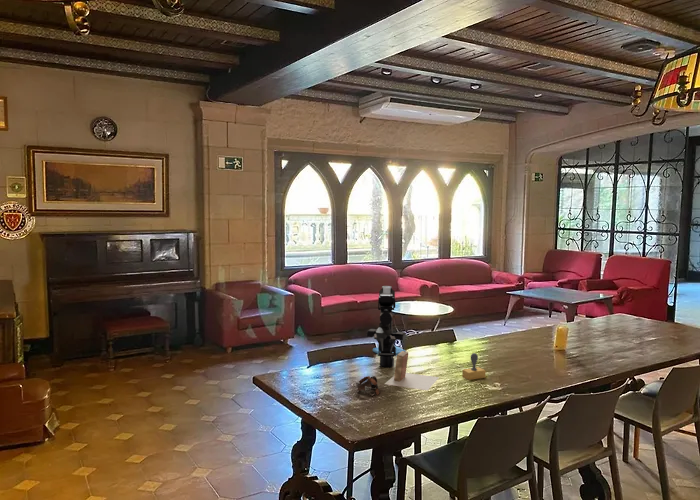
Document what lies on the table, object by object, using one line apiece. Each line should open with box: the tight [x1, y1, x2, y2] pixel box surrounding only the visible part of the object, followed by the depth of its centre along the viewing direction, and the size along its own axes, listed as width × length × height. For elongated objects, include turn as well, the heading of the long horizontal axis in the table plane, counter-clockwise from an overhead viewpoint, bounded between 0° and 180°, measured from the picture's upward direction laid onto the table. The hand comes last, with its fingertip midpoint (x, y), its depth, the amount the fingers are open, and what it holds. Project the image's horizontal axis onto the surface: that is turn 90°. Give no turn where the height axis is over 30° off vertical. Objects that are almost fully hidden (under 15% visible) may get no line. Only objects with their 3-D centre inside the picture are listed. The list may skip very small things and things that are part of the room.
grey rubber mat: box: [384, 372, 440, 391], centre depth 252 cm, size 21×20×1 cm
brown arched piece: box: [356, 375, 381, 396], centre depth 238 cm, size 12×10×8 cm
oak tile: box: [393, 350, 409, 382], centre depth 253 cm, size 3×8×12 cm, turn 156°
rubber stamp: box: [461, 352, 487, 381], centre depth 258 cm, size 10×6×12 cm, turn 113°
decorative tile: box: [372, 345, 407, 355], centre depth 302 cm, size 14×14×2 cm
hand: (386, 351), depth 256 cm, fingers open, 4 cm apart
